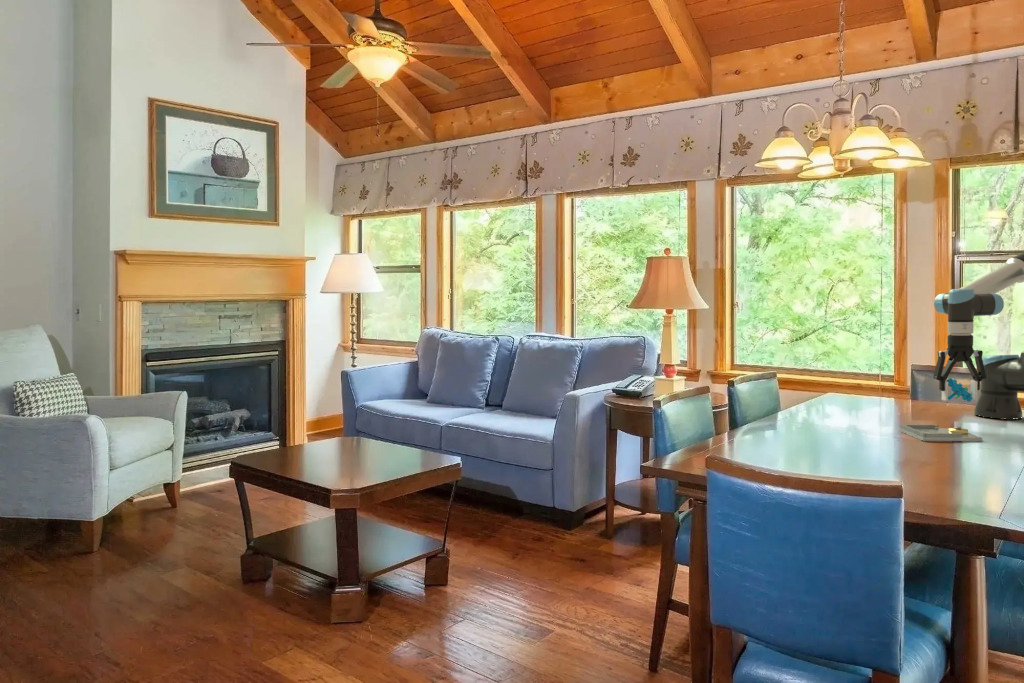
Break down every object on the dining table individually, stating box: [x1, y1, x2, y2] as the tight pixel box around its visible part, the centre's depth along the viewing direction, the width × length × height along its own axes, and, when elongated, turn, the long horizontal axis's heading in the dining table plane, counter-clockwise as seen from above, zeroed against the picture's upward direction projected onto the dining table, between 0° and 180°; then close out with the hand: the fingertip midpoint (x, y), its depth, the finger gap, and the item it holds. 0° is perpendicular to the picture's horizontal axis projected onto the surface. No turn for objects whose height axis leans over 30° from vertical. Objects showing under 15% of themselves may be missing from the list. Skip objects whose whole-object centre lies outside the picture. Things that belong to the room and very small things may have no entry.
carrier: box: [899, 423, 983, 443], centre depth 246 cm, size 18×16×3 cm
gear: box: [946, 377, 973, 403], centre depth 261 cm, size 11×6×10 cm
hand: (959, 399), depth 260 cm, fingers closed on gear, 9 cm apart
